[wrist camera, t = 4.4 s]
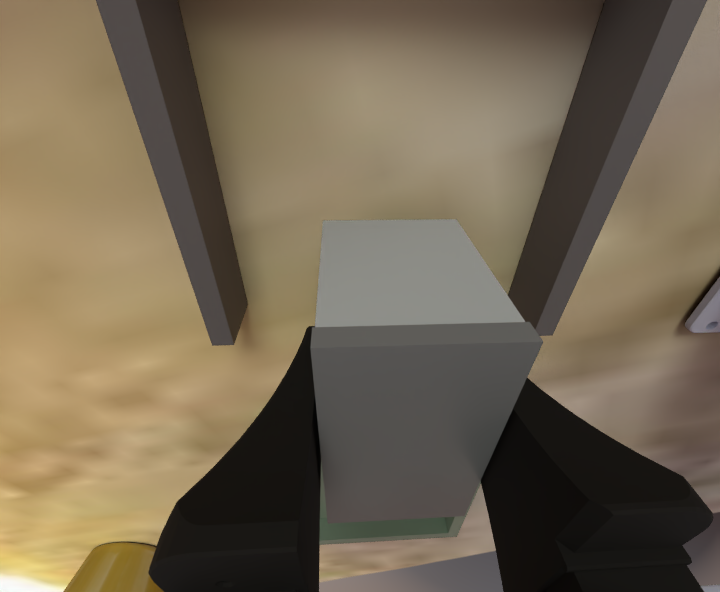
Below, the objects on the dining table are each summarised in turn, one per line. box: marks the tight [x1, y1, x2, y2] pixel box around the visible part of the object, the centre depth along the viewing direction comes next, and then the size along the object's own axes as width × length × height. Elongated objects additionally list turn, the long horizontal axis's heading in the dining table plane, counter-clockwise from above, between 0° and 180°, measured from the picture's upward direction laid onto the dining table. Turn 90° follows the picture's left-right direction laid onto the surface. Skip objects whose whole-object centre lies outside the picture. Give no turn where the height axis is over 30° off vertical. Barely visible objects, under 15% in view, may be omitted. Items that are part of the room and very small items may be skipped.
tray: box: [319, 461, 481, 545], centre depth 23 cm, size 14×14×2 cm
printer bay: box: [96, 0, 707, 346], centre depth 11 cm, size 13×13×2 cm
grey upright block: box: [310, 219, 543, 524], centre depth 12 cm, size 5×8×6 cm, turn 179°
